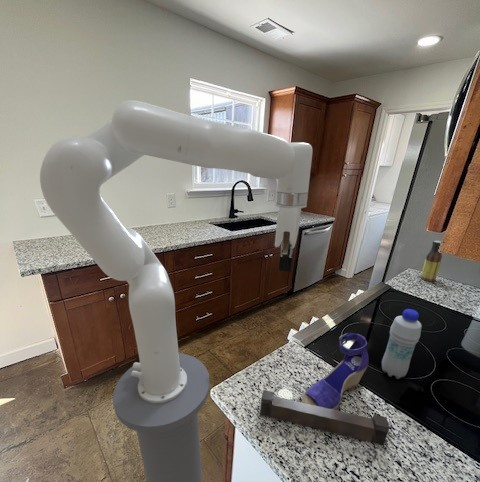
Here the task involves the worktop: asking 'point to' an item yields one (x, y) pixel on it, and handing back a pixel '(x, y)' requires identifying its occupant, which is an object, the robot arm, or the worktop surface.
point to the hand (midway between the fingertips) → (285, 269)
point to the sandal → (340, 374)
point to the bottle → (401, 343)
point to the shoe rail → (325, 418)
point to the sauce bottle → (432, 263)
